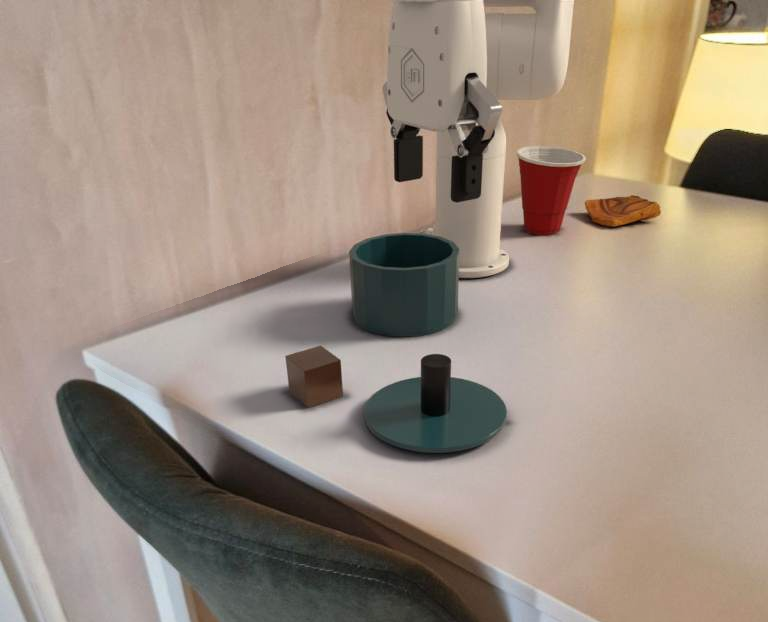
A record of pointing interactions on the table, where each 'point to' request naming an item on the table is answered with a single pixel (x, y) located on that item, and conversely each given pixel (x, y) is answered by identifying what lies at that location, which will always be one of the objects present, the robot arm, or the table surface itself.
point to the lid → (435, 411)
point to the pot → (404, 284)
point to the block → (314, 376)
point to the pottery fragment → (621, 210)
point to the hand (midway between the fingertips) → (435, 189)
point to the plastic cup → (546, 186)
